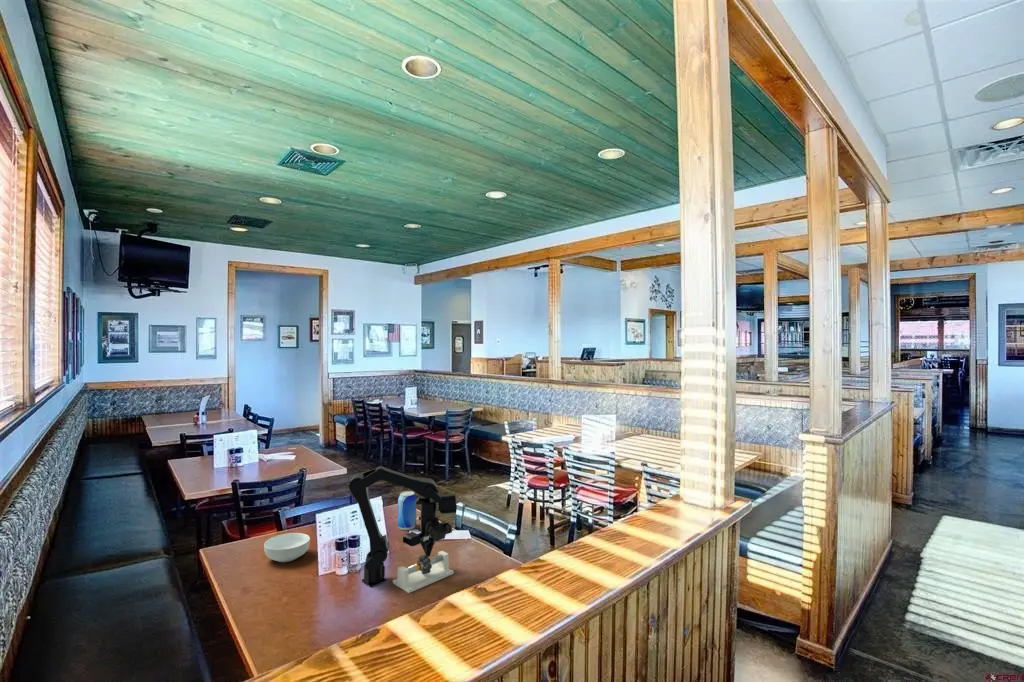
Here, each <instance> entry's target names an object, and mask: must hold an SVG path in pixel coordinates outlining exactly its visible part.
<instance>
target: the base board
mask: <svg viewBox="0 0 1024 682" xmlns="http://www.w3.org/2000/svg"><path fill="white" fill-rule="evenodd" d="M438 555H442V556H443V561H441V562H439V563H436V564H434V565H432V568H431V569H430V570H431V572H430V573H428V574H422V572H421V571H417V572H414V573H411V574H409V569H407V567H405V566H403V565H402V566H398V567H397V574H396V575H397V578H396V579H393V580H392V584H393V585H395V586H397V587H398V588H400V589H402V590H403V591H405V593H408V594H410V593H412V592H414V591H417V590H419V589H422V588H423V587H426V586H428V585H430V584H433V583H435V582H437V581H440V580H442V579H445V578H447V577H450V576H451V575H453V574H454V573H455V572H454V570H453V569H450V568H449V567H450V564H449V562H450V560H449V558H450V557H449V556H450V555H449V553H448V552H446V551H443V550H440V551H438V552H437V556H438Z"/></svg>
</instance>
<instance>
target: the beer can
mask: <svg viewBox="0 0 1024 682" xmlns="http://www.w3.org/2000/svg"><path fill="white" fill-rule="evenodd" d="M416 499H417V496H416V494H415V491H413V490H405V491H402V492H400V493H399V496H398V498H397V527H398V528H399V529H400V530H402V531H410V530H413V529H415V527H416V525H417V504H416Z"/></svg>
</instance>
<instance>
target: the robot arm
mask: <svg viewBox="0 0 1024 682" xmlns="http://www.w3.org/2000/svg"><path fill="white" fill-rule="evenodd" d="M379 481H385V482H387V483H391V484H394V485H396V486H400V487H403V488H405V489H410V491H412V492H414V493H416V494H417V495H419V496H417V497H416V505H420V516H418V517H417V518H418V521H420V522H419V523H420V525H419V526H420V527H418V528H417V530H418V532H419V533H416V532H414V531H411V532H408V533H405V534H404V535H403V537H402V543H404V544H406V545H408V546H410V547H415V546H418V545H421V548H422V551H424V555H427V556H428V558H430V556H431V554H432V551H433V548H434V545H435V543H436V542H439V541H440V540H444V539H445V538H446V535H449V534H452V533H453V526H452V525H451V523H449V522H446V521H441V522H440V521H439V520H440V519H439V517H438V516H437V511H438V512H439V514H441V515H443V514H444V515H446V514H449V515H450V514H456V513H457V509H458V508H457V507H458V506H457V502H456V501H457V499H456V494H455V493H451V494H442V495H441V492H440V491H439V490H438V488H437V484H436V482H435V479H432V478H430V477H429V478H427V477H416V476H415V477H414V476H411V475H408V474H404V473H402V472H399V471H395V470H393V469H390V468H387V467H384V466H383V465H380V466H379V465H378V466H377V467H375V468H373V469H370V470H367V471H365V472H363V473H359V472H358V473H356V474H354V475H353V476H352V477H351V479H350V482H349V483H348V489H349V490H348V491H349V492H350V493H351V495H352V497H353V499H355V501H356V502H357V504H358V507H359V510H360V514H361V517H362V520H363V523H364V526H365V529H366V533H367V536H368V538H369V552H368V553H367V554H366V557H365V563H364V566H363V579H361V582H362V583H364V584H365V585H367V586H368V587H374V586H377V585H380V584H382V583H385V582H386V581H387V578H385V575H386V572H385V571H386V566H385V563H384V562H385V561H386V560H387V558H388V554H389V552H390V543H389V541H388V536H387V534H384V535H383V534H382V533H381V531H380V529H379V525H378V522H377V518H376V516H375V513H374V510H373V506H372V502H371V500H370V495H369V487H371V486H372V485H374V484H375V483H376V482H379Z"/></svg>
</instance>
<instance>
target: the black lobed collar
mask: <svg viewBox="0 0 1024 682" xmlns="http://www.w3.org/2000/svg"><path fill="white" fill-rule="evenodd" d="M423 561H424V562H425V564H427V565H426V566H425V567H426V568H424V569H421V570H420V571H421V572H422V574H428V573H430V572H431V570H430V569H431V568H432V565H431V564H430V562H431V560H430V557H428V556H427V555H426V554H422V555H420V556H418V560H417V561H416V562H417V563H420V562H423ZM417 563H416V564H417Z"/></svg>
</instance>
